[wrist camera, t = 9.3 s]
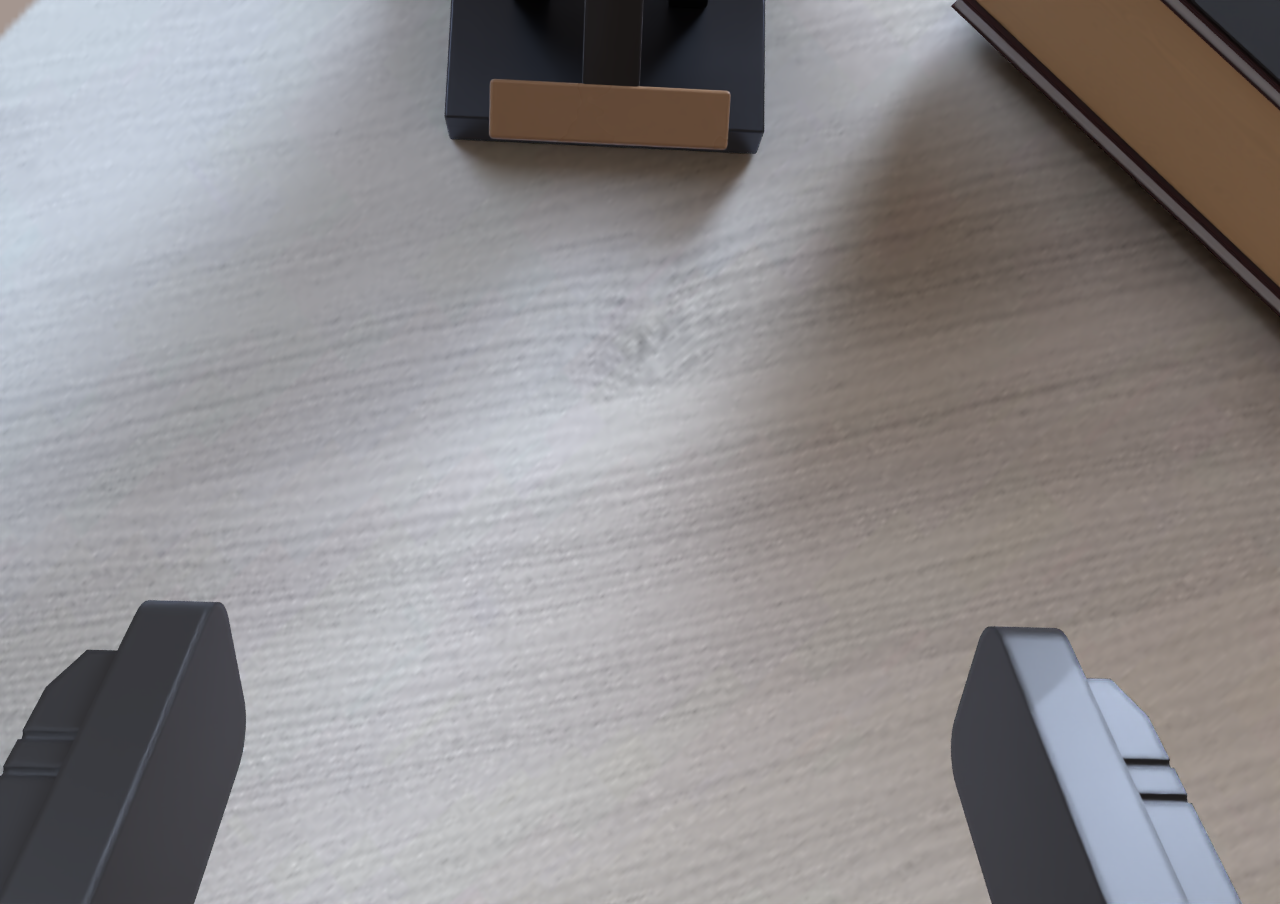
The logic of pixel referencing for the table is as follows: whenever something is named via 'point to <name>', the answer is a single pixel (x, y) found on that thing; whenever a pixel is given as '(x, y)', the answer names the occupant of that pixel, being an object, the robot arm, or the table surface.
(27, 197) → the table surface
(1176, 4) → the book
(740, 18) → the black pivot stand
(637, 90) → the switch lever
